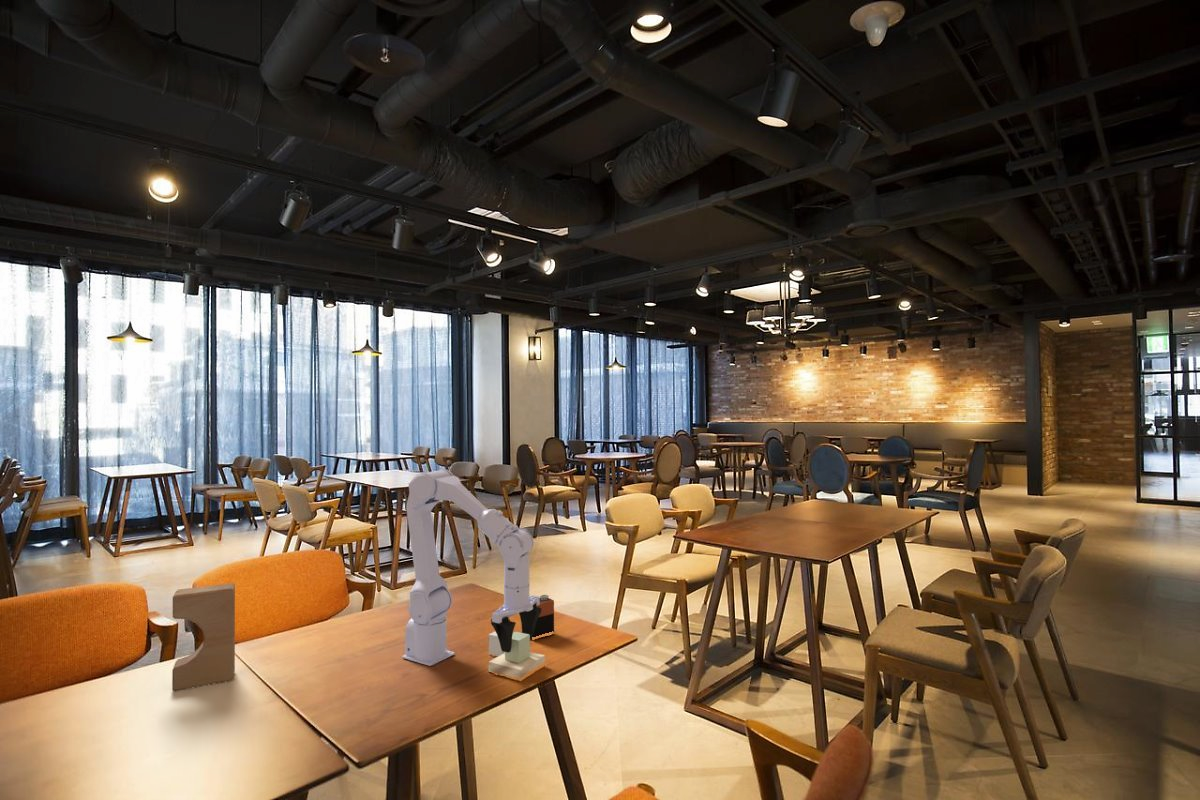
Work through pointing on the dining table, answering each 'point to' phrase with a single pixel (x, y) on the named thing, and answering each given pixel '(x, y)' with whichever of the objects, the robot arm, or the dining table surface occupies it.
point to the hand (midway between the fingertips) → (517, 645)
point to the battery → (545, 616)
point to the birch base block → (515, 665)
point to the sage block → (519, 648)
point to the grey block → (494, 645)
